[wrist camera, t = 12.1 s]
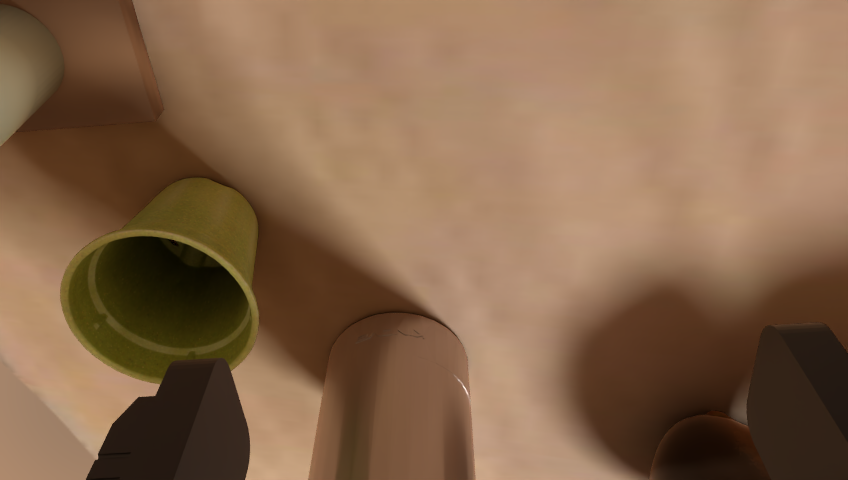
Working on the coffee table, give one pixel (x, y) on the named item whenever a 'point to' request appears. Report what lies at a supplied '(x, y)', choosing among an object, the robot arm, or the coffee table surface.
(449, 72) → the coffee table surface
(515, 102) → the coffee table surface
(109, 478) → the robot arm
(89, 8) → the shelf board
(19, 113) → the sage jar
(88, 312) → the plant pot
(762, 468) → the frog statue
